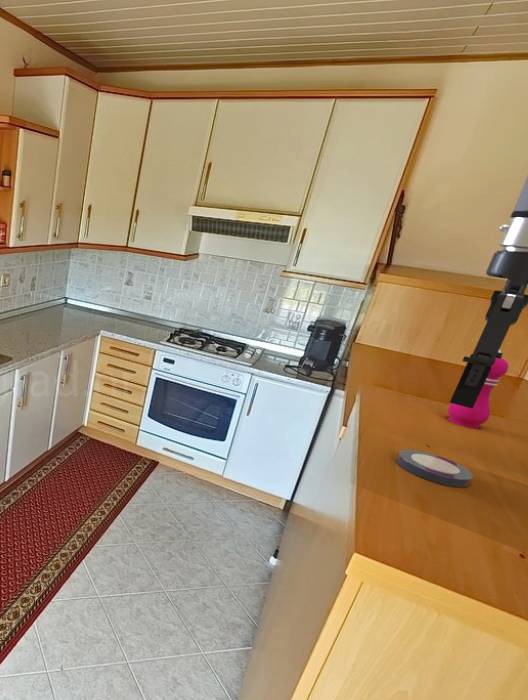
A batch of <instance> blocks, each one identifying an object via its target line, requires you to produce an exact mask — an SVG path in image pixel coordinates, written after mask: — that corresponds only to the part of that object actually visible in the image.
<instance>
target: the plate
mask: <svg viewBox="0 0 528 700" xmlns="http://www.w3.org/2000/svg"><path fill="white" fill-rule="evenodd" d="M395 460H396V463H397V465H398V466H400V467H401V468H402V469H404V470H405V471H407V472H409V473H410V474H413V475H414V476H417V477H419V478H422V479H424V480H426V481H430V482H432V483H436V484H440V485H443V486H446V487H447V486H448V487H454V488H466V487H468V486H469V485H470V484H471V482H472V480H473V478H474V475H473V473H472V472H471V471H470V470H469V469H467V468H466V467H464V466H463V465H461V464H459V463H457V462H454V461H452V460H451V459H448V458H446V457H444V456H443V457H442V456H440V455H437V454H433V453H429V452H426V451H420V450H414V449H402V450H400V451H399V452H398V454H397V456H396V459H395Z"/></svg>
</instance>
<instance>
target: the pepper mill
mask: <svg viewBox="0 0 528 700" xmlns="http://www.w3.org/2000/svg"><path fill="white" fill-rule="evenodd" d="M498 352H499V353H503V352H502V350H501V349H499V351H498ZM495 359H496V361H495V363H494V364H493V365H492V366H491V367H492V368H491V370H490V373H489V375H488V377H487V379H486V381H485V383H484V385H483V388H482V390H481V392H480V394H479V396H478V398H477V400H476V402H475V405H474V407H473V409H472V408H468V407H464V406H461V405H457V404H453V403H450V404H449V405H448V408H447V413H448V415H449V417H447V420H448V421H449V422H451V423H453V424H456V425H459V426H462V427H464V428H469V429H480V425H482V424H485V423H486V422H488V421H489V418H490V416H491V410H490V409H491V408H490V394H491V393H492V390H493V389H494V387H496V386H498V385H499V384H498V383H499V382H500V379H499V378H501V377H503V376H505V375H506V374H507V372H508V370H509V363H508V361H507V360H506V359H505V358H503V357H501V359H499V358H495Z"/></svg>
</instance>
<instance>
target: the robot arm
mask: <svg viewBox="0 0 528 700" xmlns="http://www.w3.org/2000/svg"><path fill="white" fill-rule="evenodd" d="M508 223H509V224H501V225H500V226H499V228H498V231H499V232H504V233H503V234H502V235H501V238H500V240H499V242H498V246H499V247H502V250H497V251H495V252H494V253H493V255H492V257H491V259H490V262H489V264H488V267H487V269H486V271H485V273H486V275H487V276H488V277H493V278H500V279H504V280H505V279H506V282H505V284H504V286H503V289H501V290H496V289H495V290H494V291H493V293H492V295H491V296H490V300H489V303H490V304H489V306H488V309H487V311H486V314H485V316H484V320H485V321H486V323H485V326H484V328H483V330H482V332H481V334H480V337H479V339H478V341H477V343H476V345H475V348H474V350H473V352H472V353H470V355H469V356H466V355H464V356H463V359H462V362H463V363H464V362H465V363H466V365H465V367H464V370H463V372H462V374H461V376H460V378H459V380H458V383H457V384H456V387H455V390H454V392H453V394H452V396H451V399H450V401H449V403H450V404H451V403H453V404H457V405H461V406H464V407H468V408H472V409H473V407H474V405H475V402H476V400H477V398H478V396H479V394H480V392H481V390H482V388H483V385H484V383H485V381H486V379H487V377H488V375H489V373H490V370H491V368H492V367H491V366H492V365H493V364H494V363H495V361H496V359H495V358H499V359H501V358H503V352H502V353H499V352H498V351H499V350H501V347H502V345H503V343H504V340H505V338H506V336H507V334H508V331H509V329H510V327H511V326H513V325H515V324H517V322H518V320H519V318H520V316H521V314H522V311H523V310H524V309H525V308H526V307H527V306H528V294H526V293H525V292H526V290H527V288H528V175H527V176H526V178H525V181H524V183H523V186H522V188H521V191H520V193H519V195H518V197H517V201H516V203H515V205H514V208H513V210H512V212H511V214H510V218H509V219H508Z"/></svg>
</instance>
